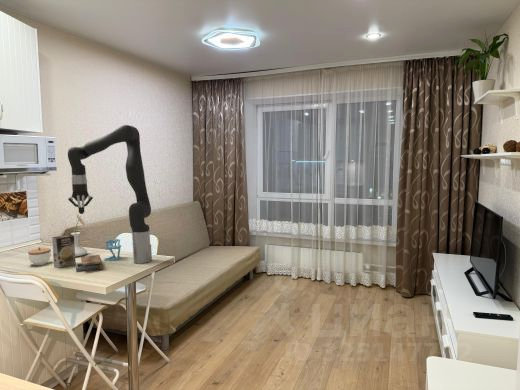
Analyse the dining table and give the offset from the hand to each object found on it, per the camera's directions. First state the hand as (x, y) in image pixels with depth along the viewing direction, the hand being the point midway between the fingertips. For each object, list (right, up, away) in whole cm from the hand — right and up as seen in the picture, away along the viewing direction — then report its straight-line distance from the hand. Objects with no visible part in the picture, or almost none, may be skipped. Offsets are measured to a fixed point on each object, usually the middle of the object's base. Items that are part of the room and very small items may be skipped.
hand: (81, 213), depth 204 cm
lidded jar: (-22, -28, -2) cm, 36 cm away
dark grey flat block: (+9, -28, -13) cm, 32 cm away
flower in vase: (-10, -26, +16) cm, 32 cm away
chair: (+16, -26, +6) cm, 31 cm away
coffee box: (-6, -28, -6) cm, 29 cm away
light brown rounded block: (+11, -28, -11) cm, 32 cm away
